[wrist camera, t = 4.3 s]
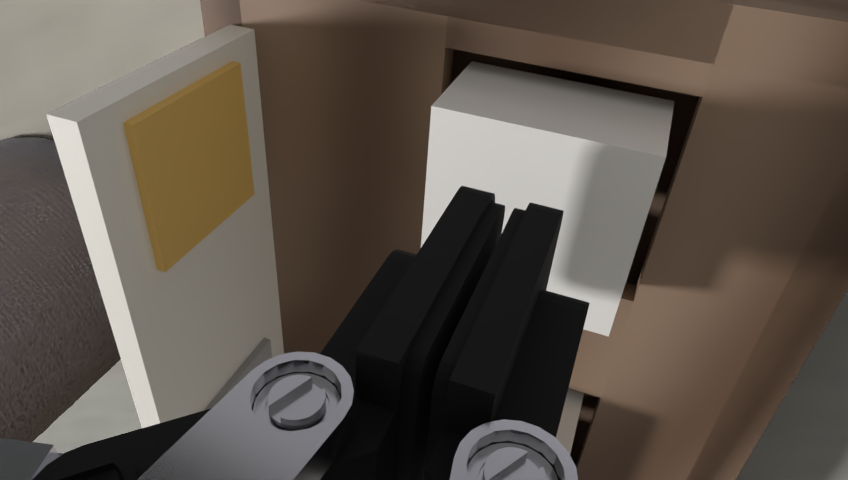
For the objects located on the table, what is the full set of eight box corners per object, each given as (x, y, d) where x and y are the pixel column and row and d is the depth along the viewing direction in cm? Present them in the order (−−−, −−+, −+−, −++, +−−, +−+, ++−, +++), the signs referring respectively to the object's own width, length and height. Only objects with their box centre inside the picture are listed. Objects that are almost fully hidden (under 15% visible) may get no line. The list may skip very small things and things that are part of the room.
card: (262, 30, 14) (87, 124, 10) (305, 534, 26) (231, 666, 22) (230, 24, 14) (46, 114, 10) (287, 527, 26) (211, 656, 22)
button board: (925, -19, 13) (991, 44, 10) (624, 586, 27) (611, 689, 24) (290, -107, 16) (188, -82, 13) (320, 470, 30) (275, 547, 27)
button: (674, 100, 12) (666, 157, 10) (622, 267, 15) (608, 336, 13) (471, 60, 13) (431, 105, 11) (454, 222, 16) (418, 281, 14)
